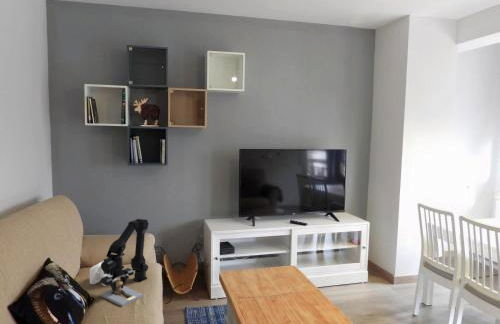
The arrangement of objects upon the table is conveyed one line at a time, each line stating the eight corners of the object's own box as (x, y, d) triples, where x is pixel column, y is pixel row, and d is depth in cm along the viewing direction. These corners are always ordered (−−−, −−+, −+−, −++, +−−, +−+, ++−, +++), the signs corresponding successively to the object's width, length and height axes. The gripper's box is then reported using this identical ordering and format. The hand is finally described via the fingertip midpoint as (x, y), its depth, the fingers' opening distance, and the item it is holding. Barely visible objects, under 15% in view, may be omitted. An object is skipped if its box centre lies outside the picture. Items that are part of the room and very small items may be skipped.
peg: (119, 291, 208) (118, 279, 207) (124, 293, 205) (124, 281, 204) (111, 294, 203) (110, 282, 203) (116, 297, 200) (116, 284, 200)
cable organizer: (103, 288, 211) (102, 270, 210) (89, 285, 214) (88, 267, 213) (119, 278, 226) (118, 261, 224) (105, 275, 229) (105, 259, 227)
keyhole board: (101, 296, 202) (101, 293, 202) (121, 287, 213) (121, 284, 213) (122, 306, 191) (122, 304, 190) (143, 296, 202) (143, 294, 202)
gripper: (122, 256, 214) (123, 280, 216) (94, 266, 199) (95, 292, 201) (134, 260, 208) (134, 285, 210) (106, 271, 193) (106, 298, 195)
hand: (117, 290), depth 204 cm, fingers closed on peg, 5 cm apart
